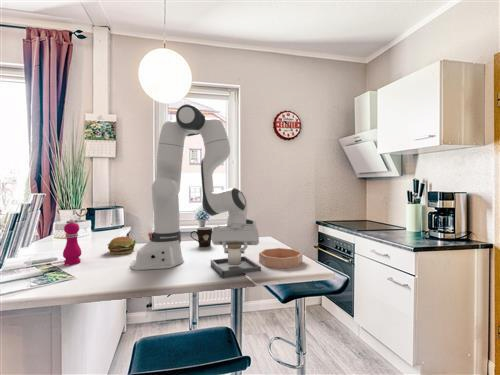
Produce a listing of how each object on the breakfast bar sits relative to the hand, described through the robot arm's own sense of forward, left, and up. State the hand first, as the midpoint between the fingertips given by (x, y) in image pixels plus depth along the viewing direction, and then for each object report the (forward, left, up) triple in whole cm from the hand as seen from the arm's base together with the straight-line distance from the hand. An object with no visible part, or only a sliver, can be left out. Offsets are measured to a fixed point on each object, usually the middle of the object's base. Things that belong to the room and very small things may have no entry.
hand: (234, 252), depth 122 cm
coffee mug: (-3, +50, -7) cm, 50 cm away
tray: (0, +1, -7) cm, 7 cm away
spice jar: (0, +1, -5) cm, 5 cm away
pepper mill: (-65, +38, -7) cm, 75 cm away
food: (-45, +52, -7) cm, 69 cm away
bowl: (+21, 0, -7) cm, 22 cm away
